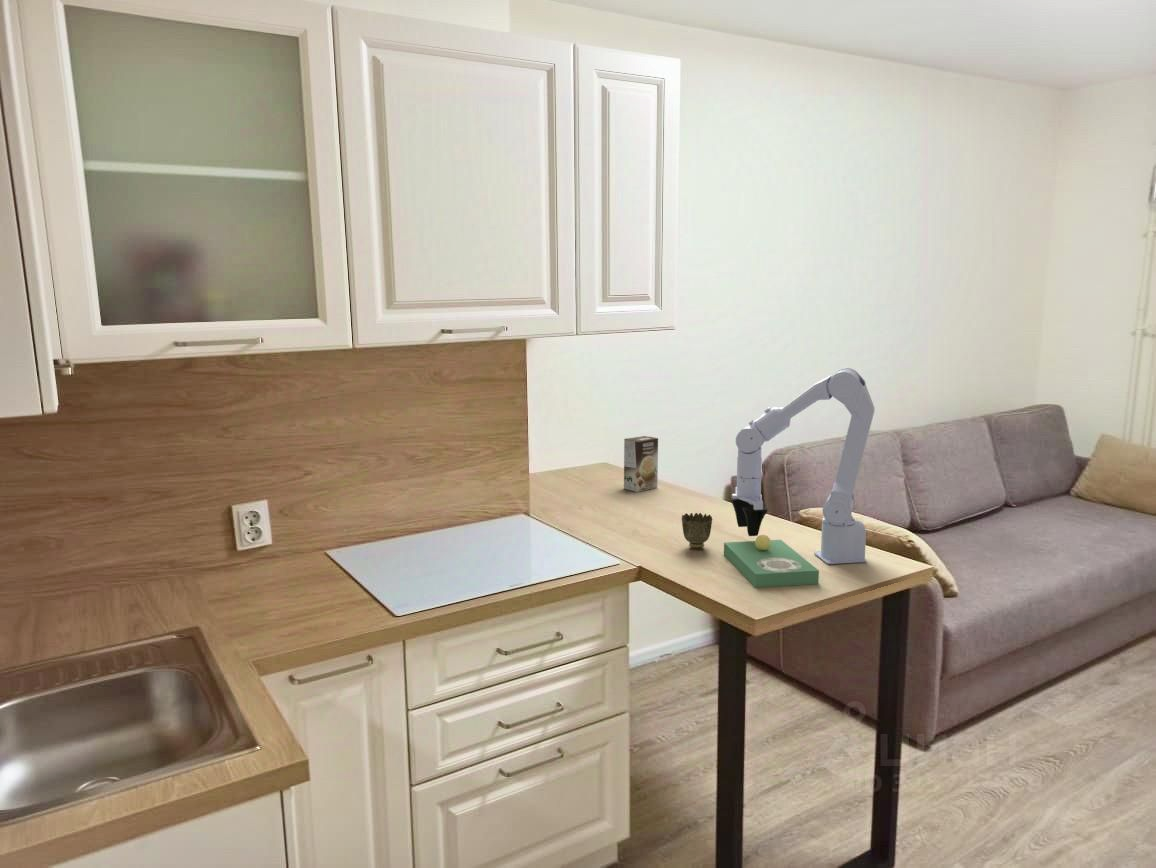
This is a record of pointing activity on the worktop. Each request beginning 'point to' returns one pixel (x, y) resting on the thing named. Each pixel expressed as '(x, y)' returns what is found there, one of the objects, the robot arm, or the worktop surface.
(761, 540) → the ball
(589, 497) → the worktop surface
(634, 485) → the coffee box
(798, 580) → the green rectangular slab
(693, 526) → the cup
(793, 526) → the worktop surface
